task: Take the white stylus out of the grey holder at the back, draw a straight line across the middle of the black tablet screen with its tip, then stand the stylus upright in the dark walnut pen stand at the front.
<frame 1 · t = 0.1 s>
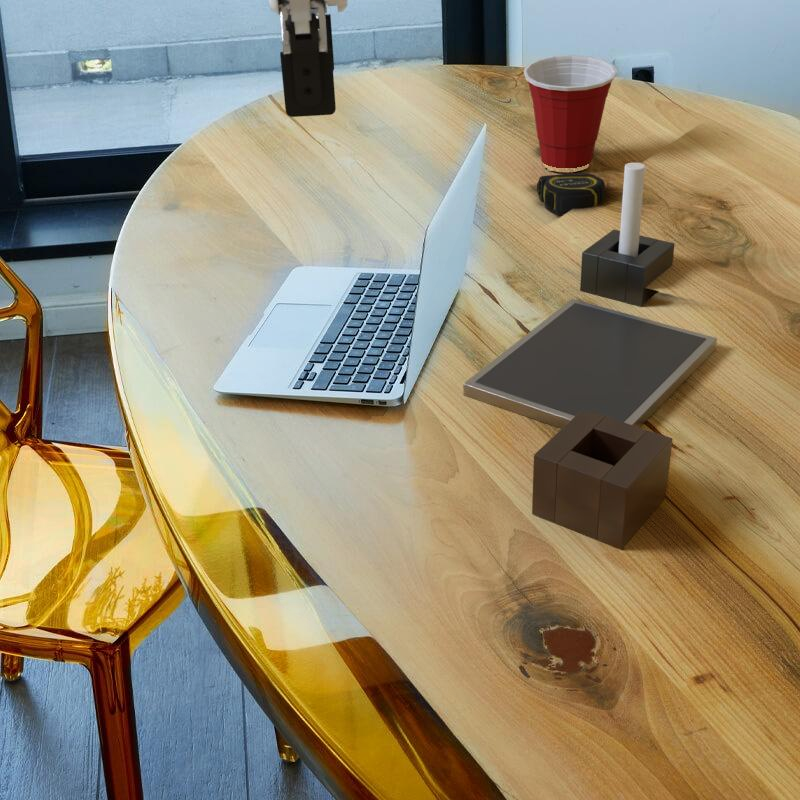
hand: (311, 92, 73), 25 cm above the table, tool pointing down, fingers open, 9 cm apart
stylus: (630, 227, 100), in the stylus holder
stylus holder: (625, 286, 103), on the table
tape measure: (568, 211, 120), on the table
pen stand: (599, 505, 75), on the table
plastic cup: (565, 168, 132), on the table
tablet: (592, 371, 90), on the table
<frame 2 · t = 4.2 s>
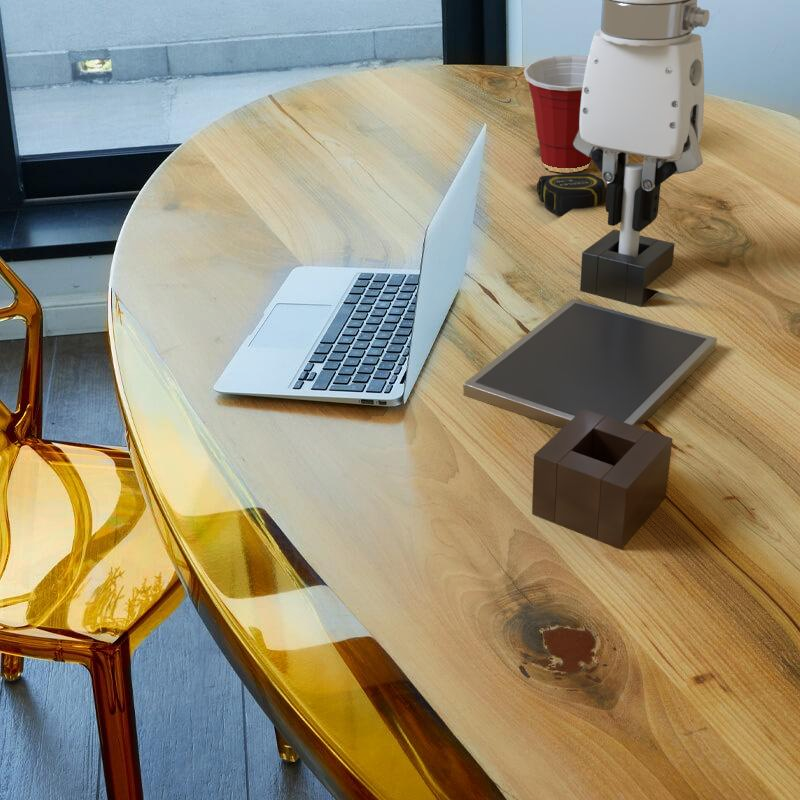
hand: (630, 222, 100), 7 cm above the table, tool pointing down, fingers closed on stylus, 1 cm apart
stylus: (630, 227, 100), in the stylus holder, touching gripper
everything else where it was.
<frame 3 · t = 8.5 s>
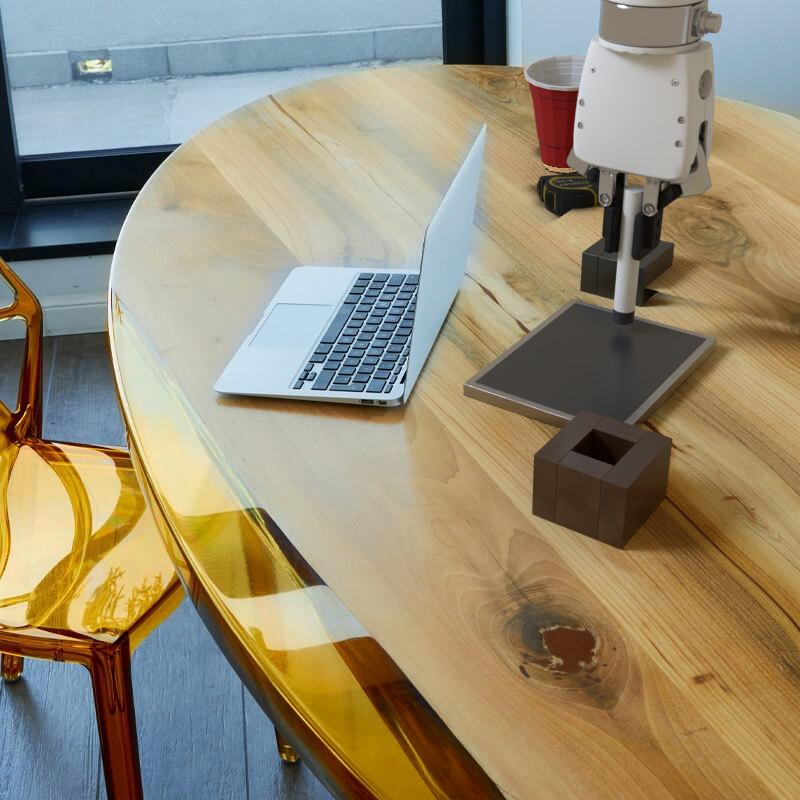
hand: (629, 249, 90), 9 cm above the table, tool pointing down, fingers closed on stylus, 1 cm apart
stylus: (629, 256, 90), point 8 cm above the table, touching gripper
everything else where it was.
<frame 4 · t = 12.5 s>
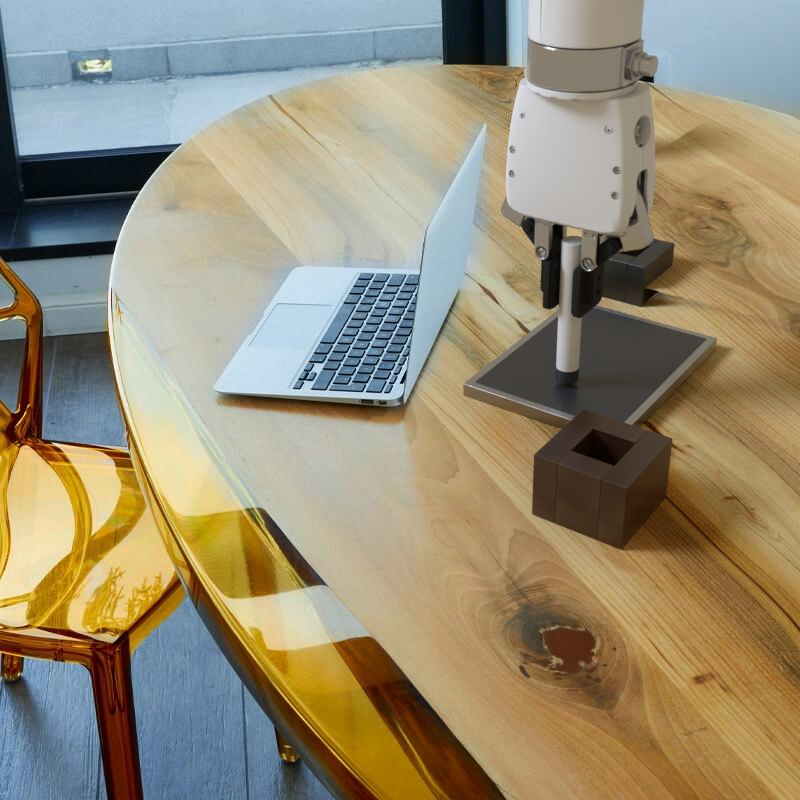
hand: (570, 305, 83), 8 cm above the table, tool pointing down, fingers closed on stylus, 1 cm apart
stylus: (570, 312, 83), point 8 cm above the table, touching gripper
everything else where it was.
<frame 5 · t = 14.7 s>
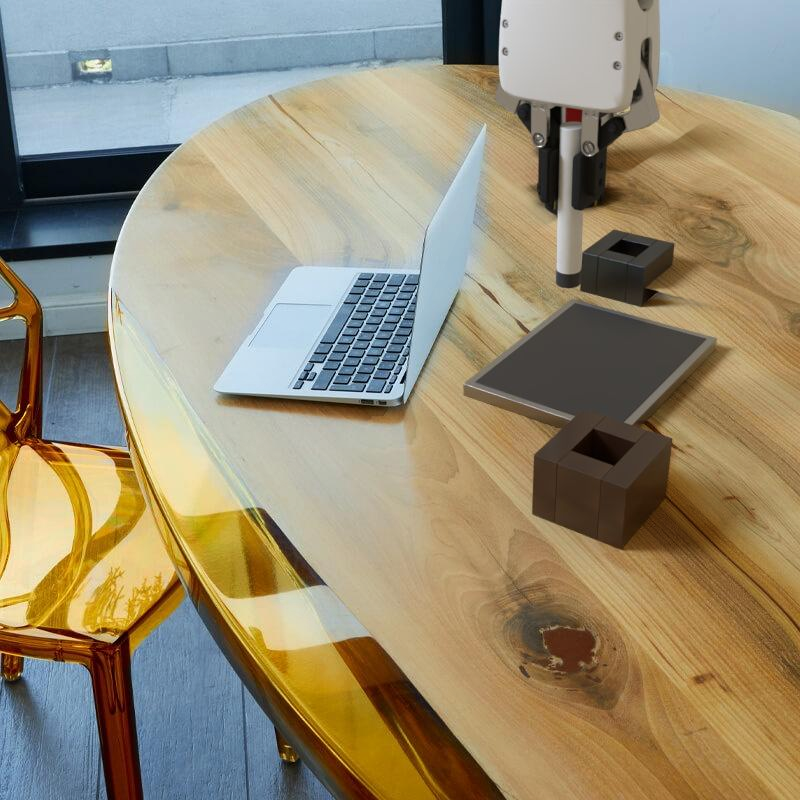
hand: (570, 199, 77), 17 cm above the table, tool pointing down, fingers closed on stylus, 1 cm apart
stylus: (570, 207, 77), point 17 cm above the table, touching gripper
everything else where it was.
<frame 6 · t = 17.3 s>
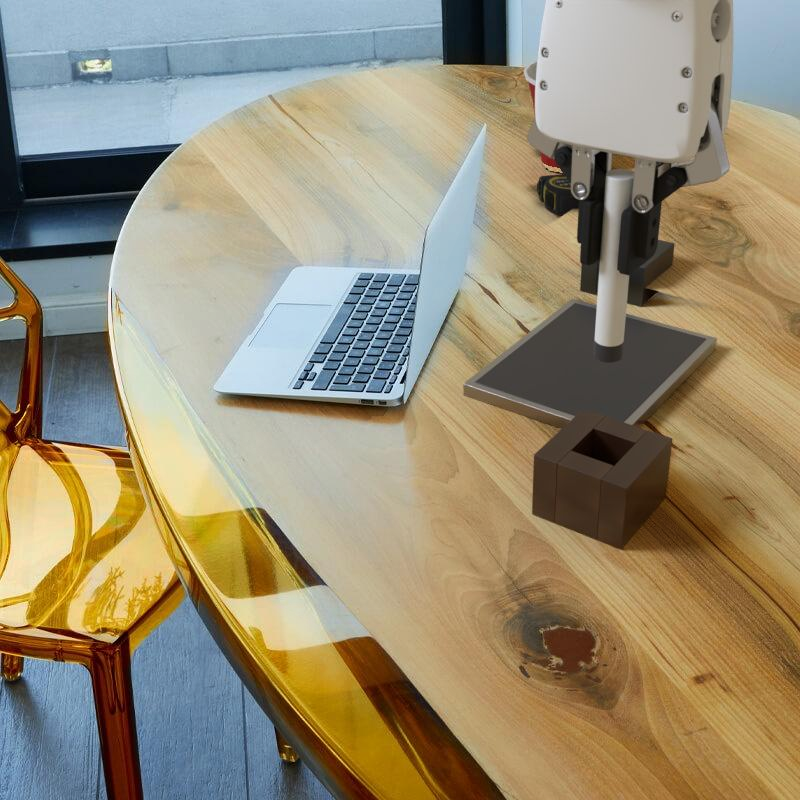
hand: (615, 259, 65), 19 cm above the table, tool pointing down, fingers closed on stylus, 1 cm apart
stylus: (614, 269, 65), point 18 cm above the table, touching gripper
everything else where it was.
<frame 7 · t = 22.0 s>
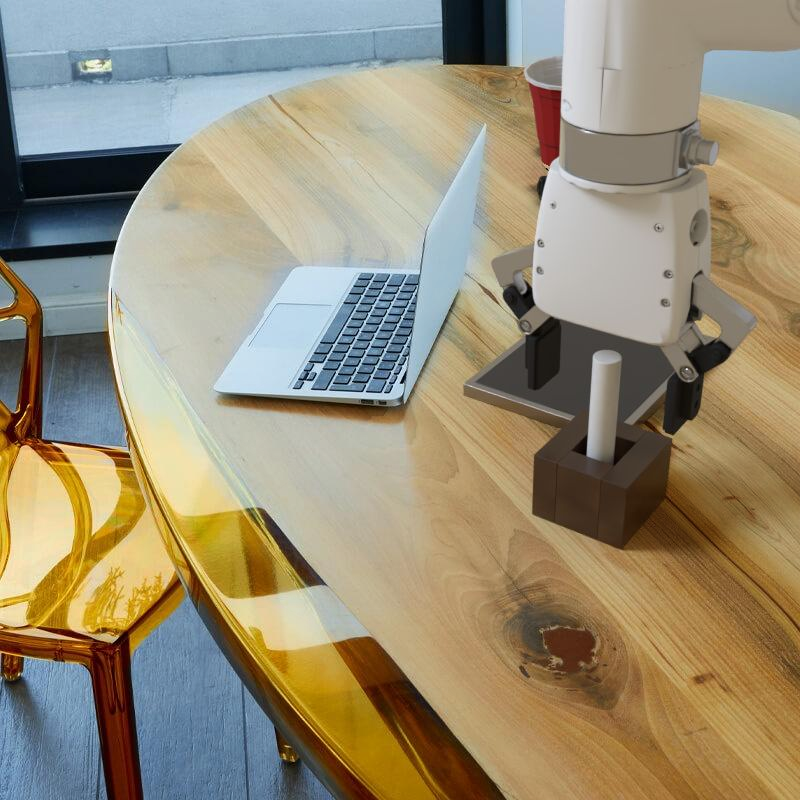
hand: (608, 401, 70), 8 cm above the table, tool pointing down, fingers open, 9 cm apart
stylus: (601, 435, 71), in the pen stand
everything else where it was.
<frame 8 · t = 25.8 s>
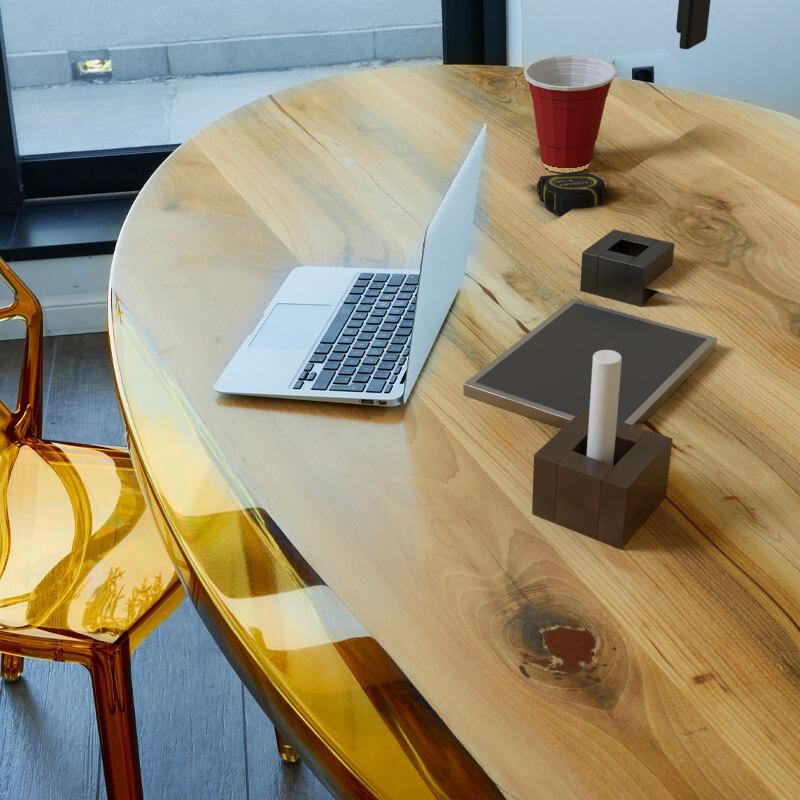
hand: (758, 53, 74), 26 cm above the table, tool pointing down, fingers open, 9 cm apart
nothing on the table moved.
at the end: stylus 0.2 cm off-centre in the pen stand, point 6.0 cm above the pen stand's base; stylus tilted 0°; the gripper is holding nothing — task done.
